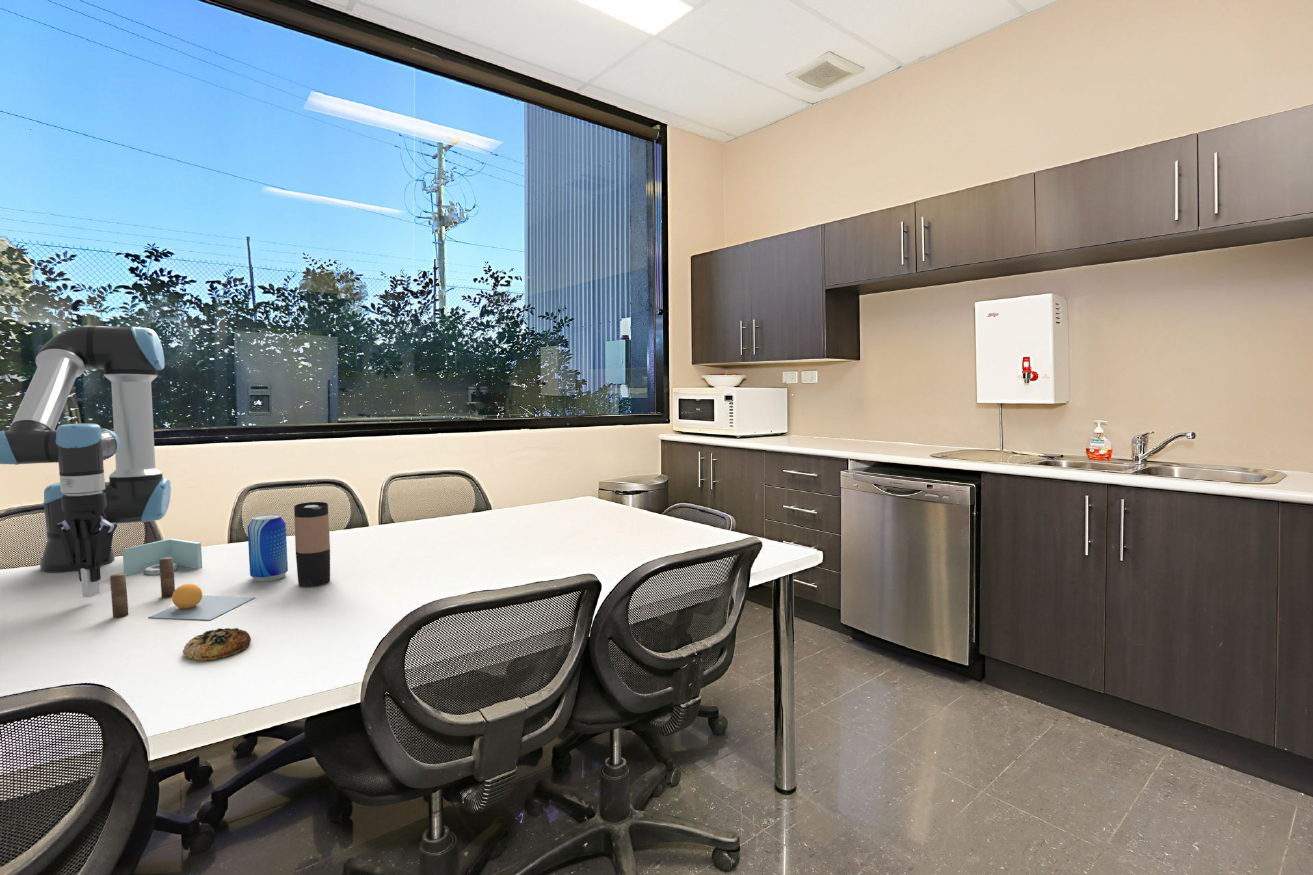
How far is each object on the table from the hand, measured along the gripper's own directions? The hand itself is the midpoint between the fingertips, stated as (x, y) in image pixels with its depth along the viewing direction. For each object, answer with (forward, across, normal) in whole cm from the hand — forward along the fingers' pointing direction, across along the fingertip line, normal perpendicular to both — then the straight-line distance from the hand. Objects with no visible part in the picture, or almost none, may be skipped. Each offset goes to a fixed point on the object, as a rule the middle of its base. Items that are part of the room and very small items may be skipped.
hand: (91, 595), depth 148 cm
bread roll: (+3, +46, -20) cm, 51 cm away
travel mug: (+2, +41, +19) cm, 45 cm away
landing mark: (+2, +27, 0) cm, 27 cm away
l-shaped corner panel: (+3, -4, +24) cm, 24 cm away
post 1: (+2, +13, -6) cm, 15 cm away
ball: (-1, +24, -1) cm, 24 cm away
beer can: (+2, +27, +22) cm, 35 cm away
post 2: (+2, +13, +6) cm, 15 cm away
